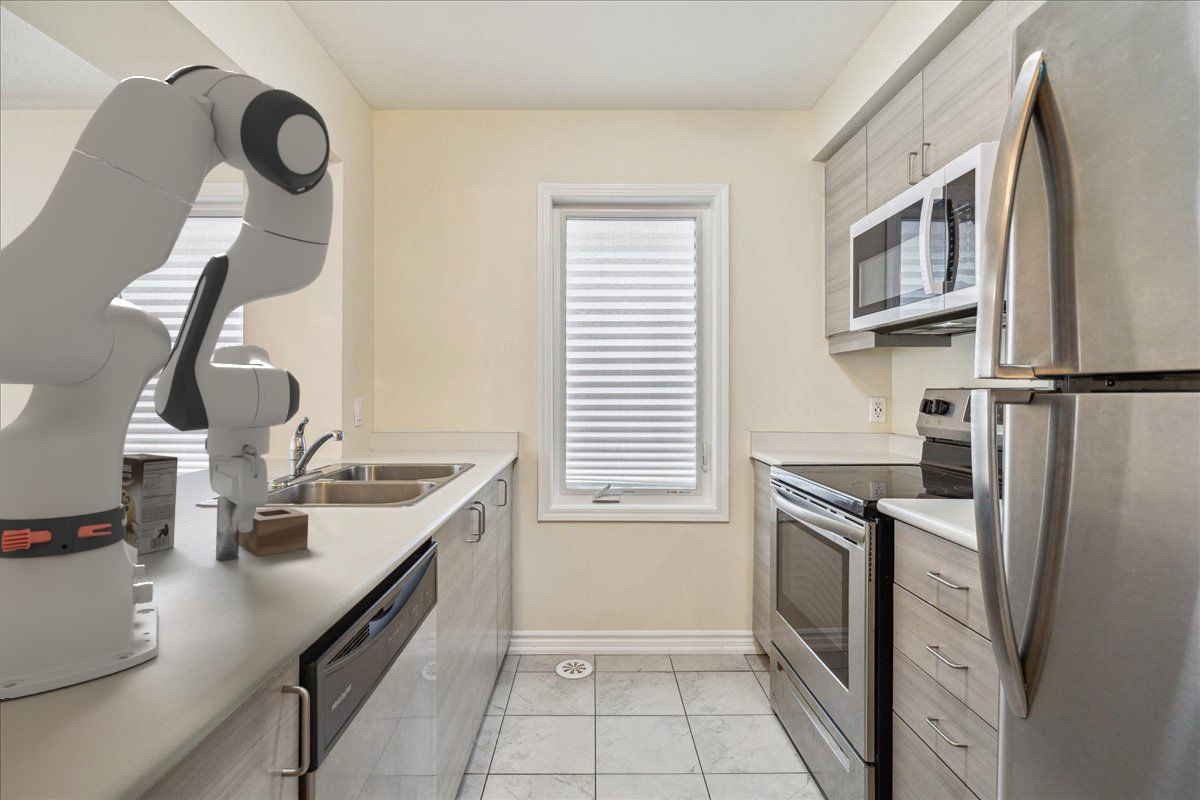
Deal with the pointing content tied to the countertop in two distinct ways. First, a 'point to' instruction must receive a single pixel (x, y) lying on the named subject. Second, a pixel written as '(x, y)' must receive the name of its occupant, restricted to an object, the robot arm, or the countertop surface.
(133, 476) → the coffee box
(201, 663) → the countertop surface
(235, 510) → the steel pin
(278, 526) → the walnut block
